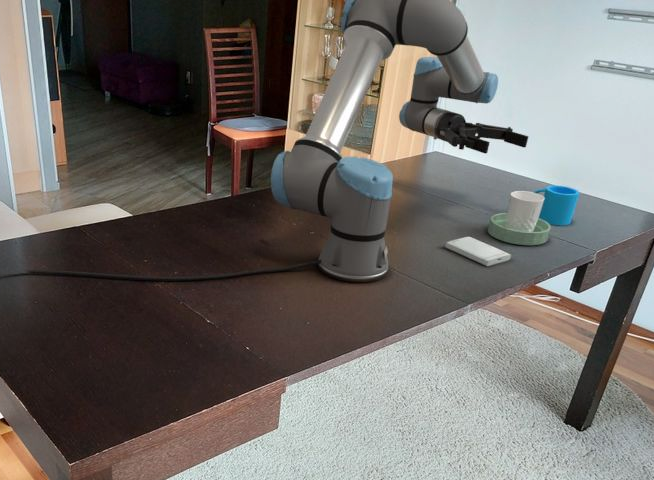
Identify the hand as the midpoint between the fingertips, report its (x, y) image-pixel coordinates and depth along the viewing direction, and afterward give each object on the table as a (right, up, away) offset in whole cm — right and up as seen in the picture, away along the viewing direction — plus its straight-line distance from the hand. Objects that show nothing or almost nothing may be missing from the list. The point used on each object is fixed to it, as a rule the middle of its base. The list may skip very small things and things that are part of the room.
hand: (507, 144), depth 167 cm
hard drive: (-10, -28, -7) cm, 31 cm away
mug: (+17, -15, +16) cm, 28 cm away
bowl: (+4, -22, +4) cm, 22 cm away
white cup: (+4, -22, +4) cm, 22 cm away
